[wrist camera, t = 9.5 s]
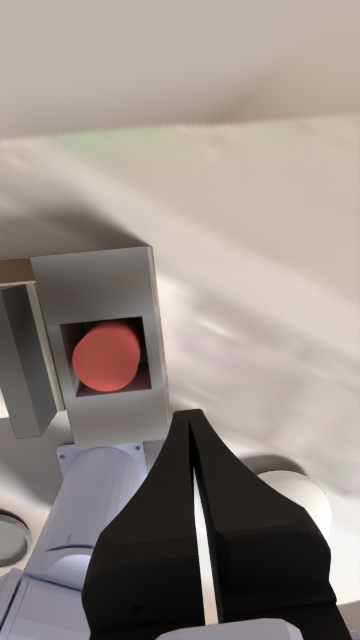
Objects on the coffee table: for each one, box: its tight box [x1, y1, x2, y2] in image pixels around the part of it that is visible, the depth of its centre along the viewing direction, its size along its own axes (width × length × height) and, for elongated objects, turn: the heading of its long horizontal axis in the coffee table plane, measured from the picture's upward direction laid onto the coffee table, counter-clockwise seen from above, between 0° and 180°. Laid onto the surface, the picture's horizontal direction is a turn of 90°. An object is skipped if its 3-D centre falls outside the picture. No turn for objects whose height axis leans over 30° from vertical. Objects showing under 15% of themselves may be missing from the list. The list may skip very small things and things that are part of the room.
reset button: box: [72, 317, 143, 391], centre depth 16 cm, size 4×4×4 cm
